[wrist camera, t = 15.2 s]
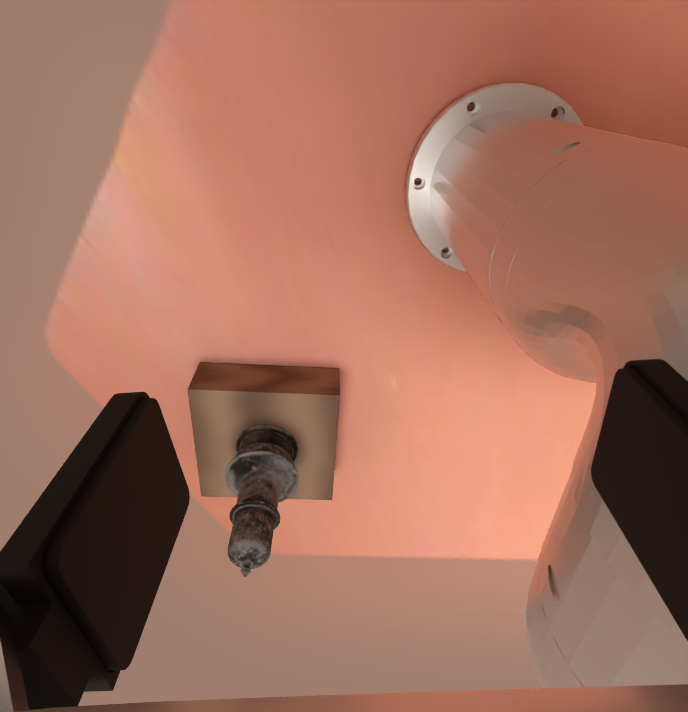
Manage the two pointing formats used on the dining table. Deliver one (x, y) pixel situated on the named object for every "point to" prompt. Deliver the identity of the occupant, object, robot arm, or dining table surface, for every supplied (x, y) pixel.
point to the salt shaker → (259, 491)
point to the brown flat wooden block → (265, 419)
